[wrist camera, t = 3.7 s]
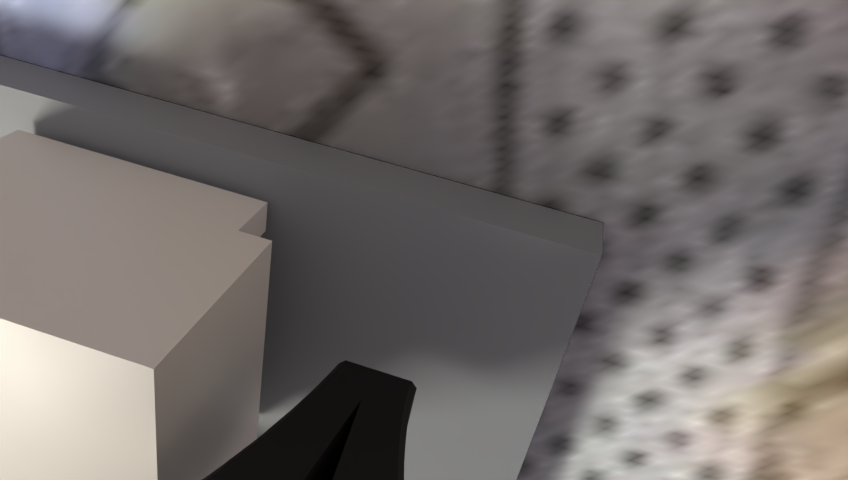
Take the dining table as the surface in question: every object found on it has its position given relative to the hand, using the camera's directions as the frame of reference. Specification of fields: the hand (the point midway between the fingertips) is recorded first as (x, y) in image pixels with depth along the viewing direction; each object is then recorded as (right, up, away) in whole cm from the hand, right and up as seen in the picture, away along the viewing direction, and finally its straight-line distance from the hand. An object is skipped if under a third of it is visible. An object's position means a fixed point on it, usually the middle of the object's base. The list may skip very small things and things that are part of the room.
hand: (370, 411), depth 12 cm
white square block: (-4, +2, +2) cm, 5 cm away
